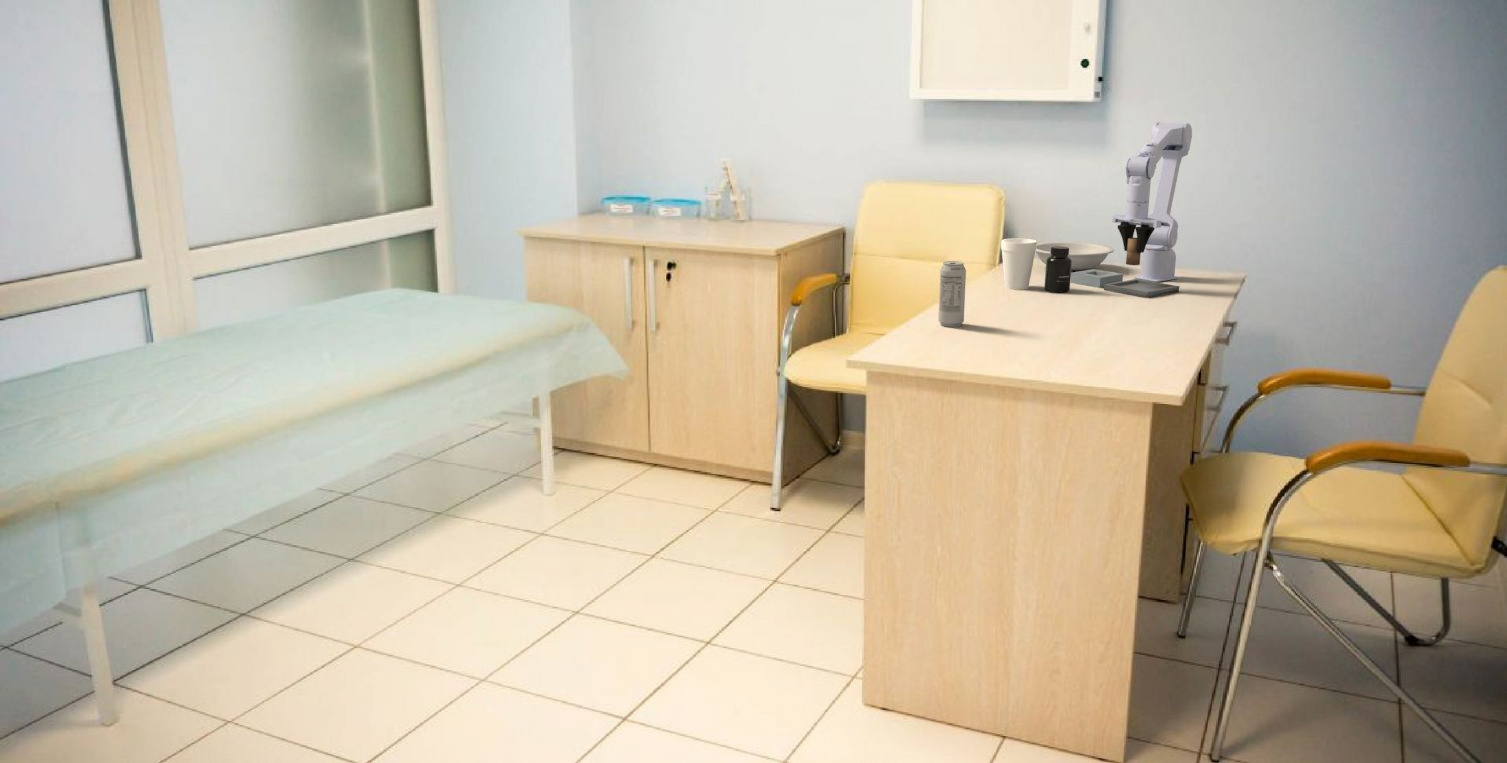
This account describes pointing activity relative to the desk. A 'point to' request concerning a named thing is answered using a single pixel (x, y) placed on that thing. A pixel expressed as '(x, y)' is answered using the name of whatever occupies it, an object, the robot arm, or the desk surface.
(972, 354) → the desk surface
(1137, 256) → the dowel
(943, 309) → the energy drink can
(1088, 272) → the square hole block
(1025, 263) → the foam cup
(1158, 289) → the tray
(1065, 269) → the supplement bottle
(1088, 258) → the soup bowl
